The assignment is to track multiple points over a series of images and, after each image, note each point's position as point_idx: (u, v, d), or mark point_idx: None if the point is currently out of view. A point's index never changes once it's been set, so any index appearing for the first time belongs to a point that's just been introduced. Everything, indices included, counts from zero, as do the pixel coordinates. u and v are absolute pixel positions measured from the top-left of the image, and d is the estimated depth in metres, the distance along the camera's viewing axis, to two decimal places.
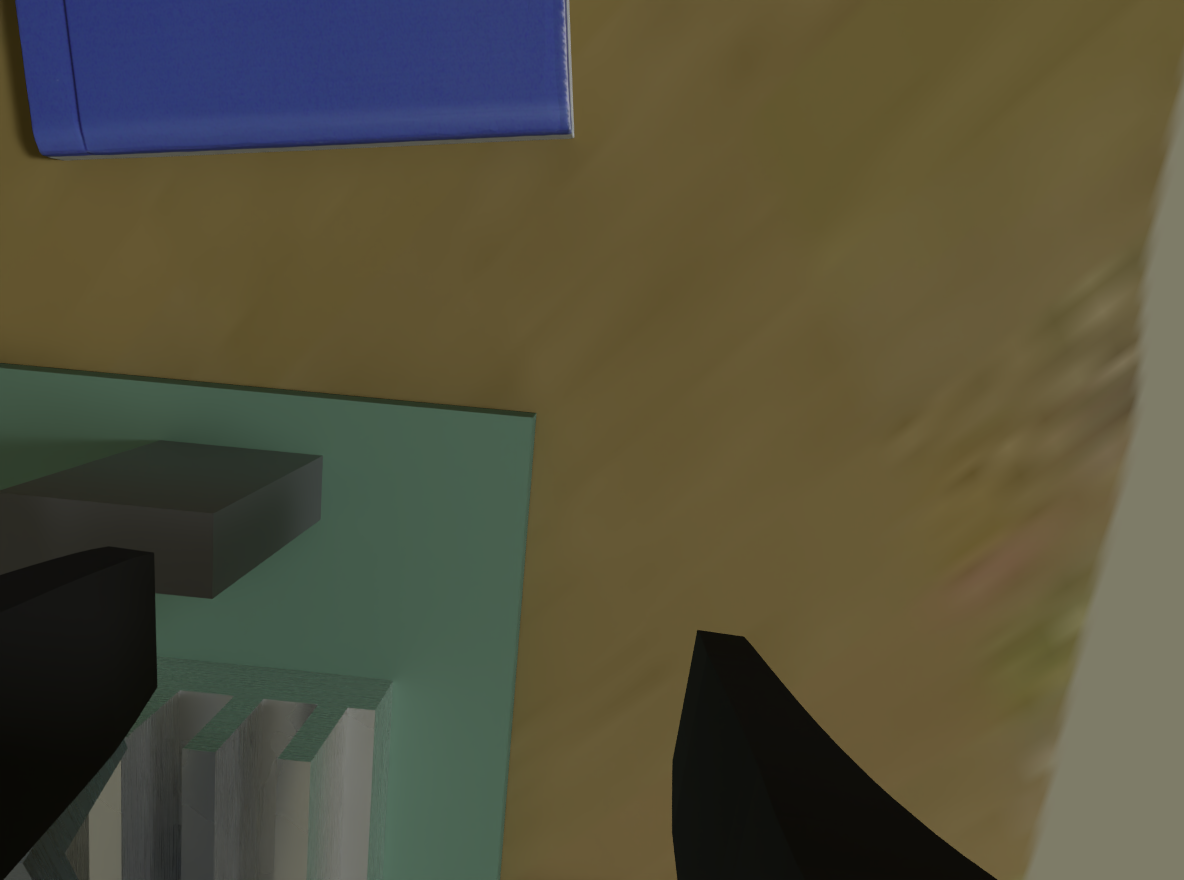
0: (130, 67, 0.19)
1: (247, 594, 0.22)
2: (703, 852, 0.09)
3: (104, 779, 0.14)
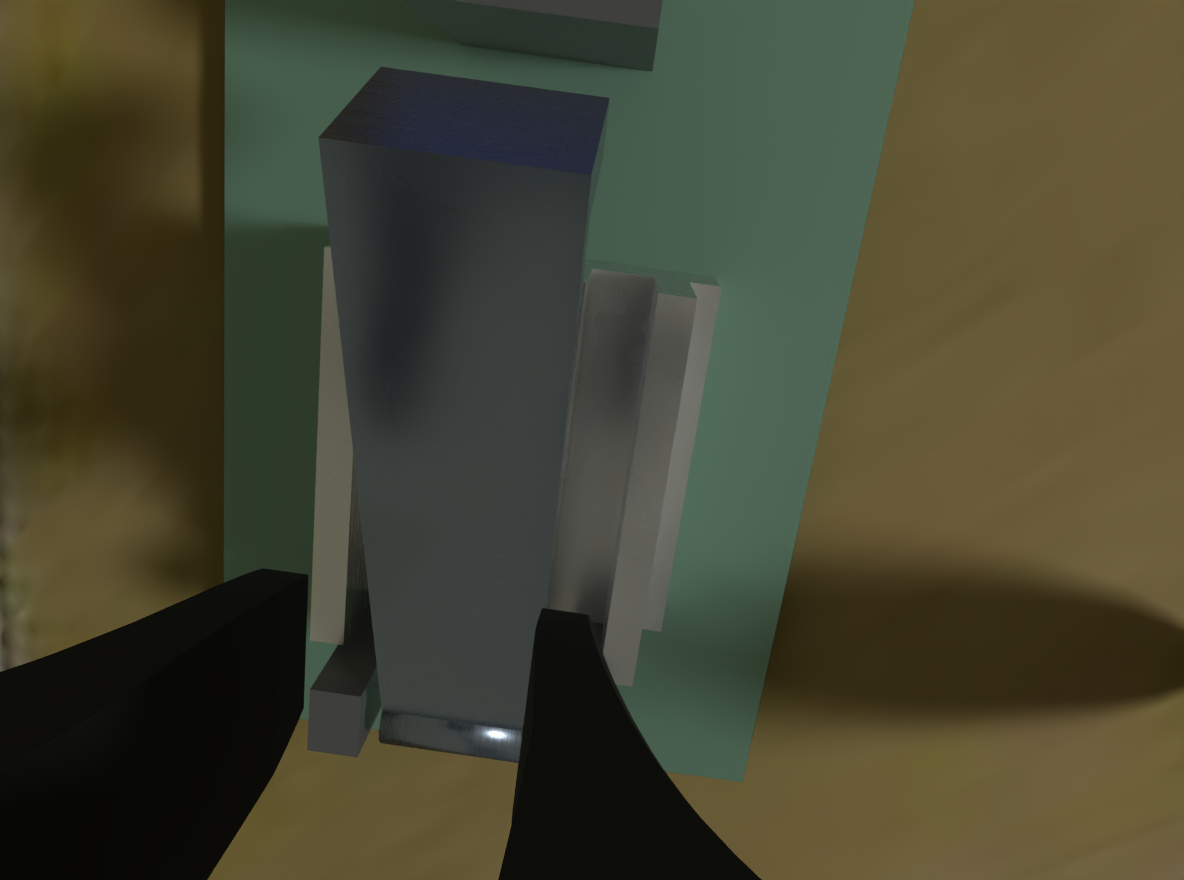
0: None
1: None
2: None
3: (599, 169, 0.11)
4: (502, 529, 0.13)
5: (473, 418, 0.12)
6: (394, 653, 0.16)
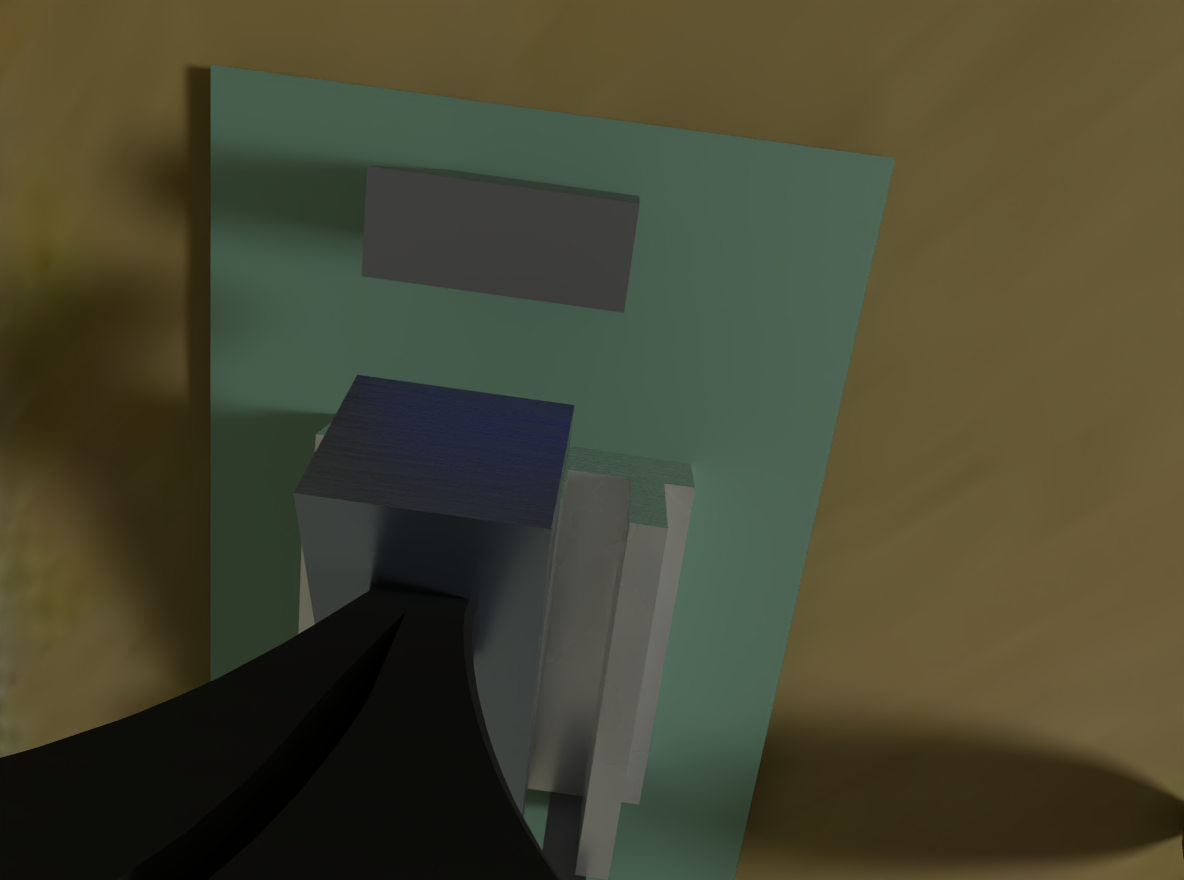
0: None
1: (534, 359, 0.19)
2: None
3: (564, 473, 0.12)
4: None
5: None
6: None
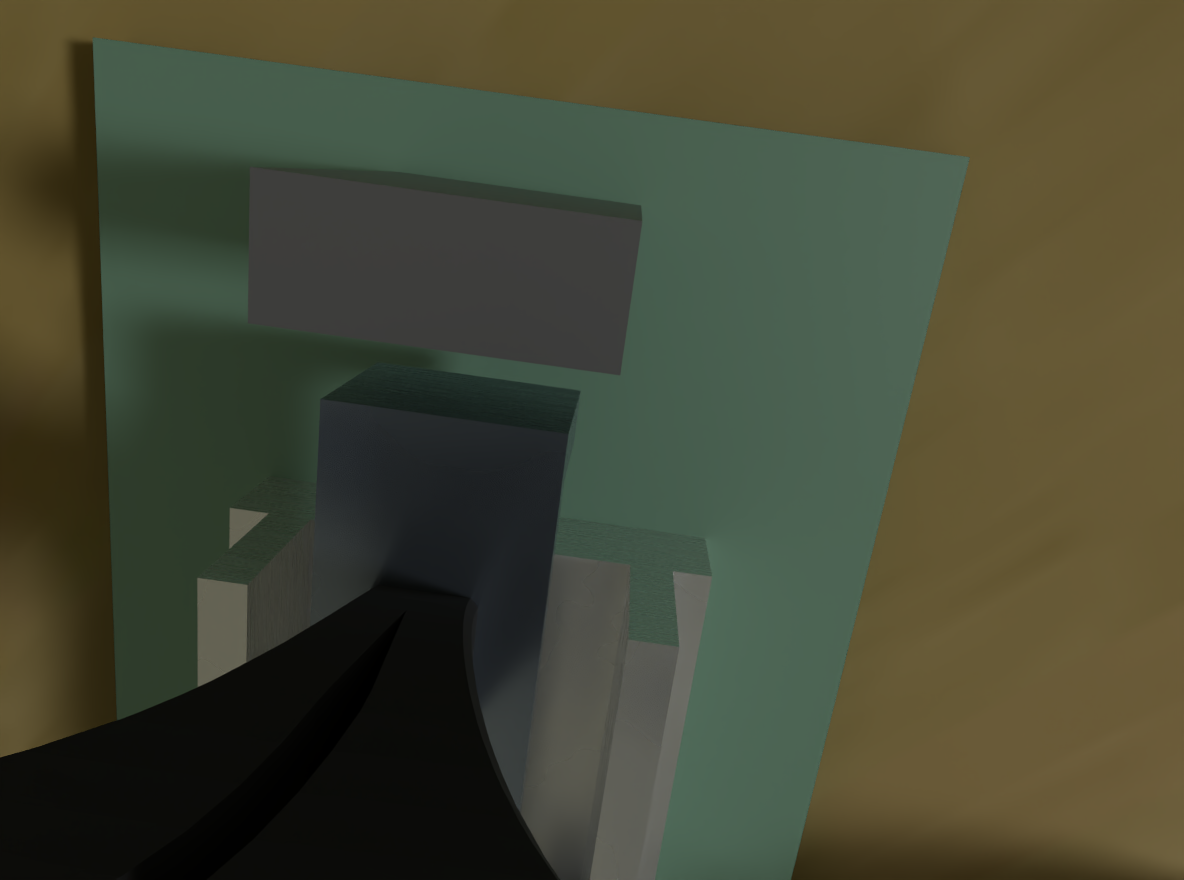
0: None
1: None
2: None
3: (571, 448, 0.12)
4: None
5: None
6: None
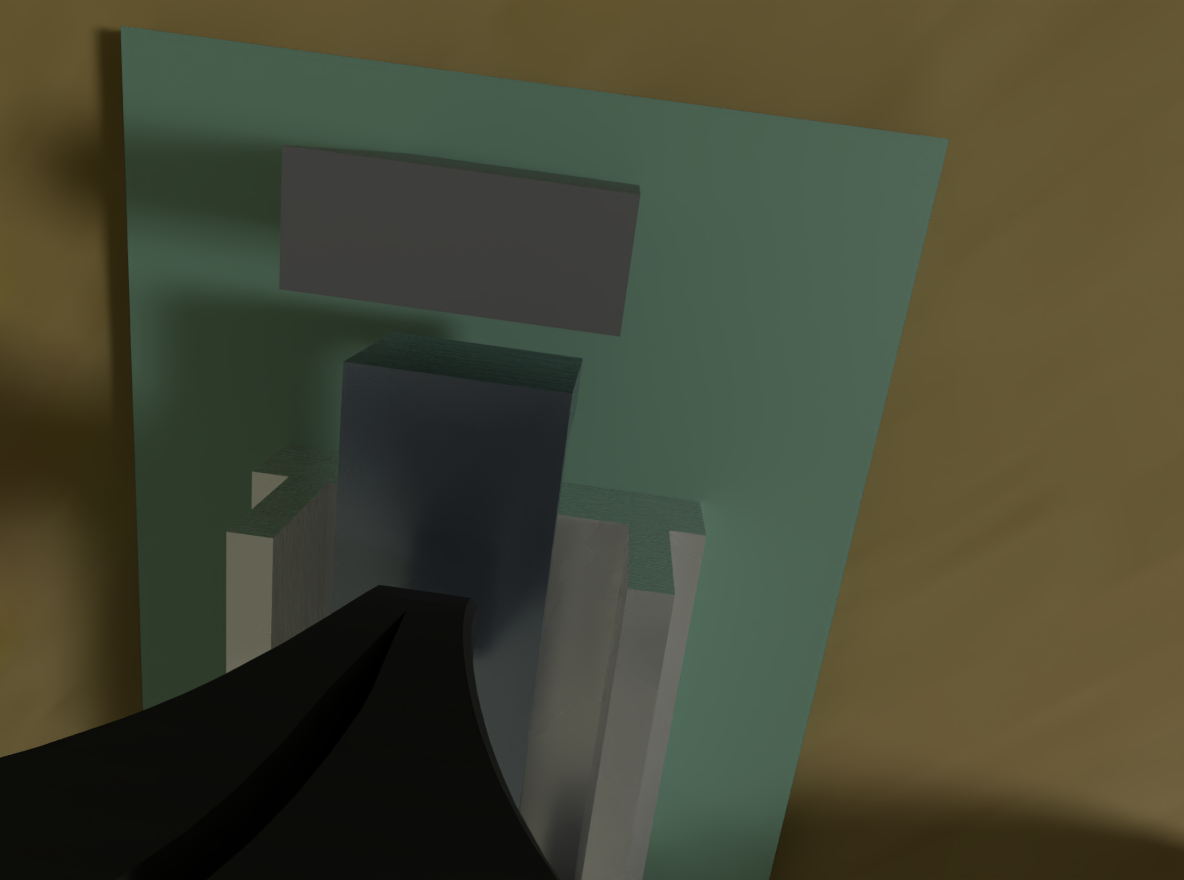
0: None
1: None
2: None
3: (574, 411, 0.13)
4: None
5: None
6: None
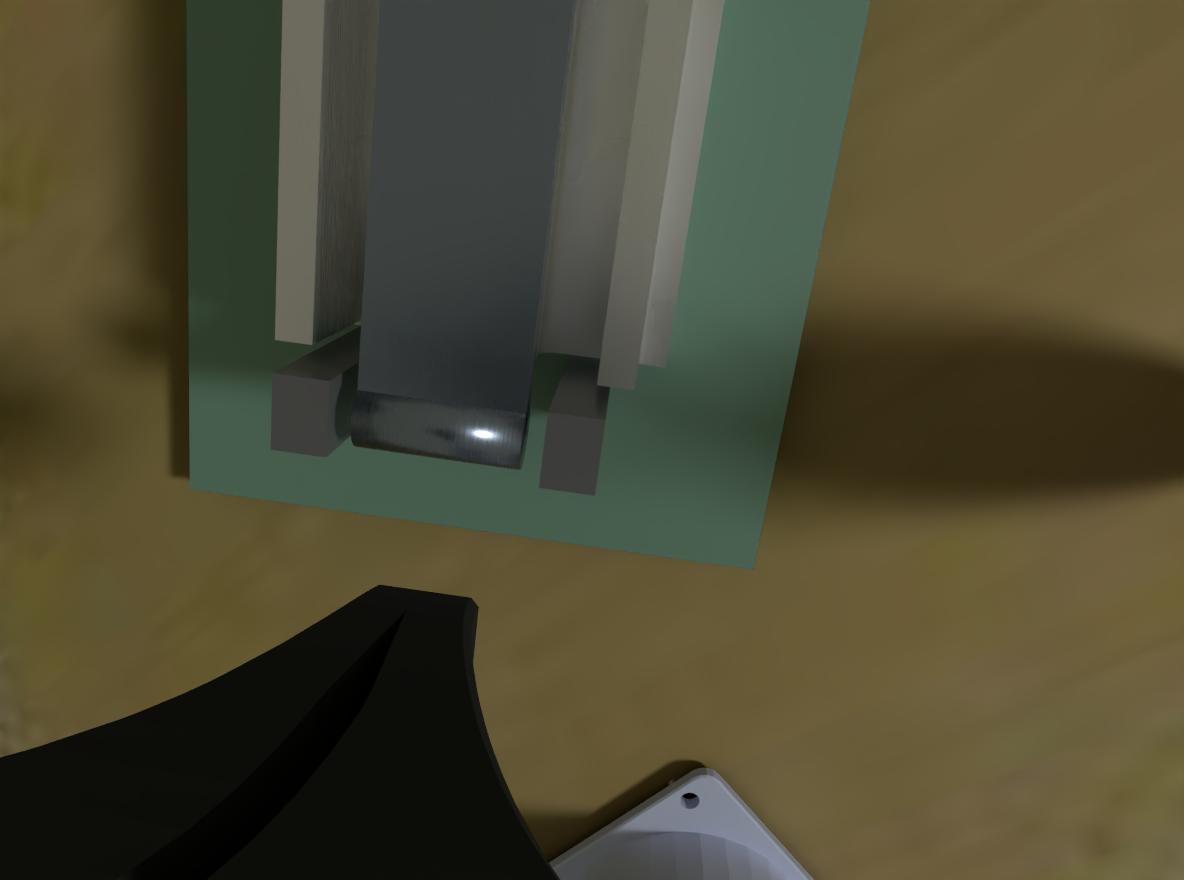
0: None
1: None
2: None
3: None
4: (515, 62, 0.14)
5: None
6: (384, 278, 0.15)
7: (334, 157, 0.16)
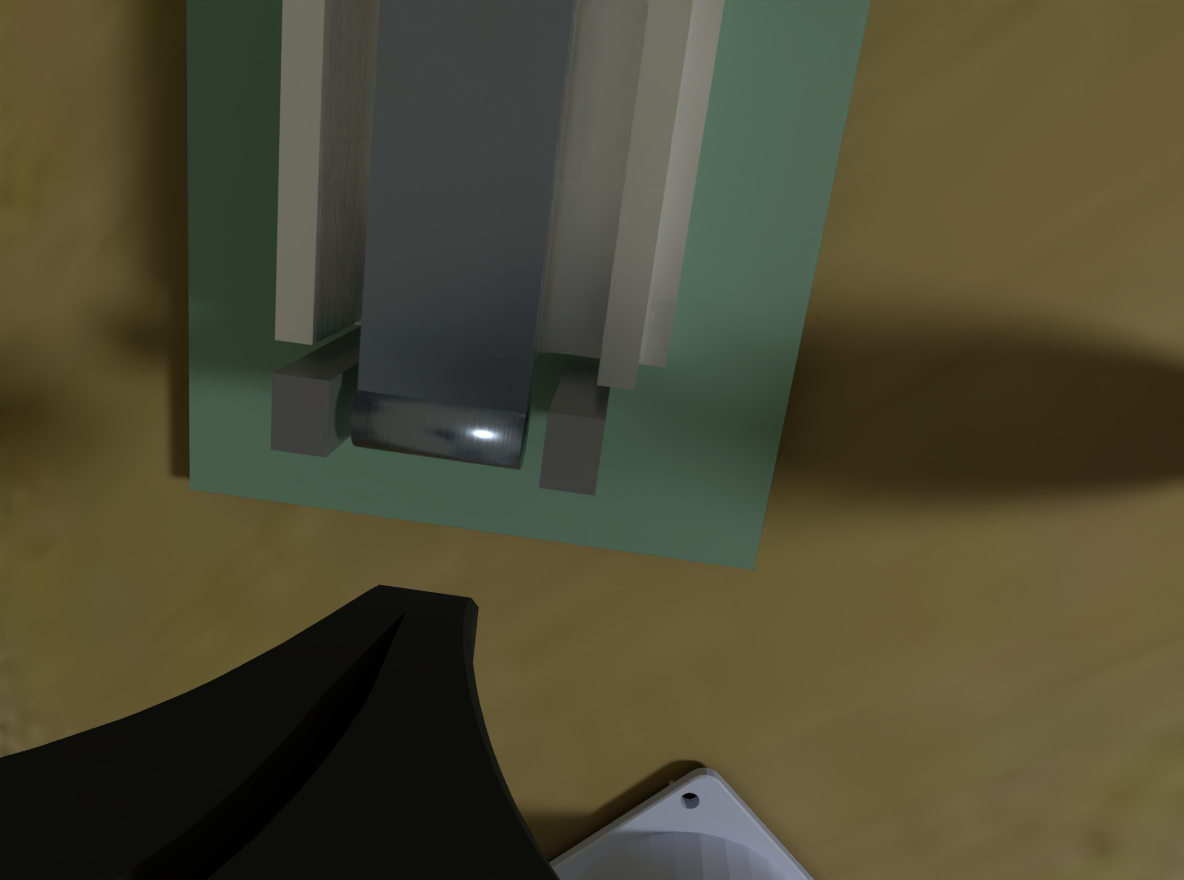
0: None
1: None
2: None
3: None
4: (515, 62, 0.14)
5: None
6: (384, 278, 0.15)
7: (334, 157, 0.16)
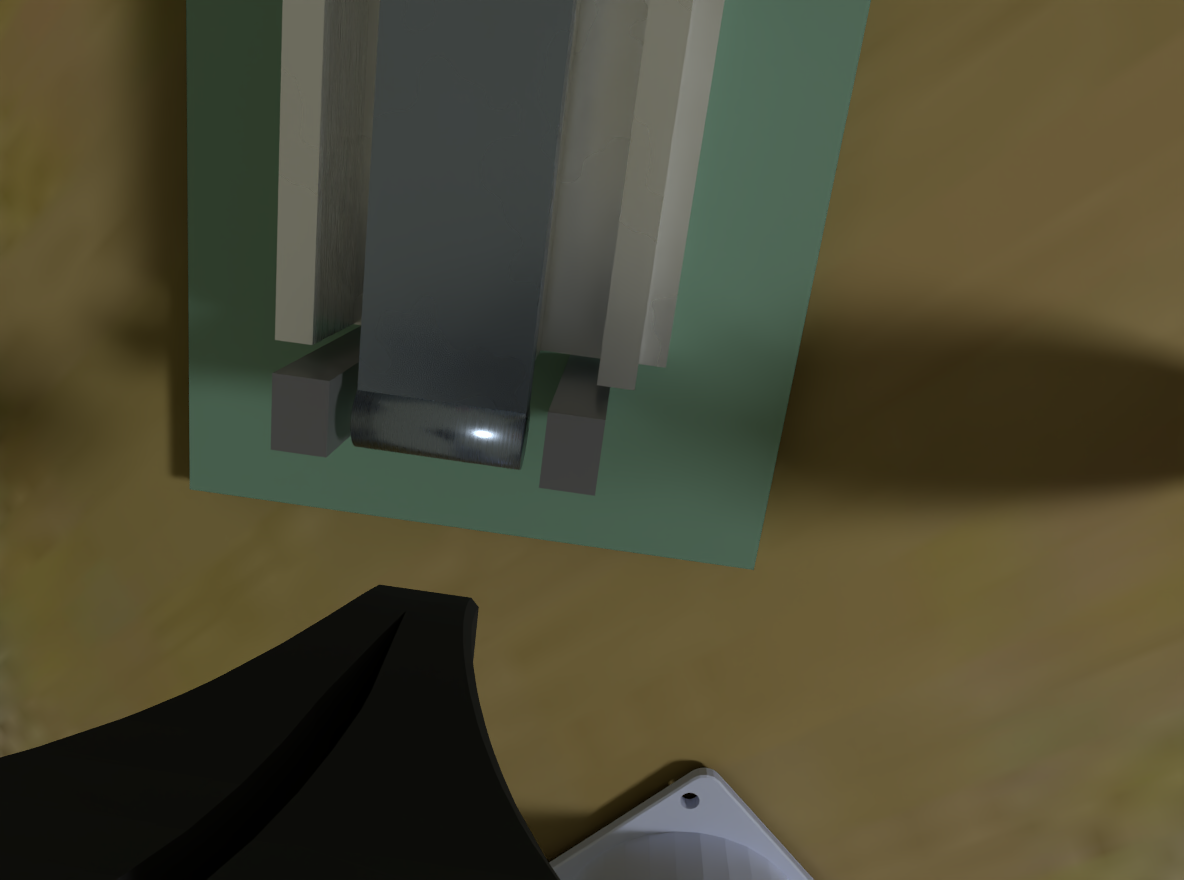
0: None
1: None
2: None
3: None
4: (515, 62, 0.14)
5: None
6: (384, 278, 0.15)
7: (334, 157, 0.16)
